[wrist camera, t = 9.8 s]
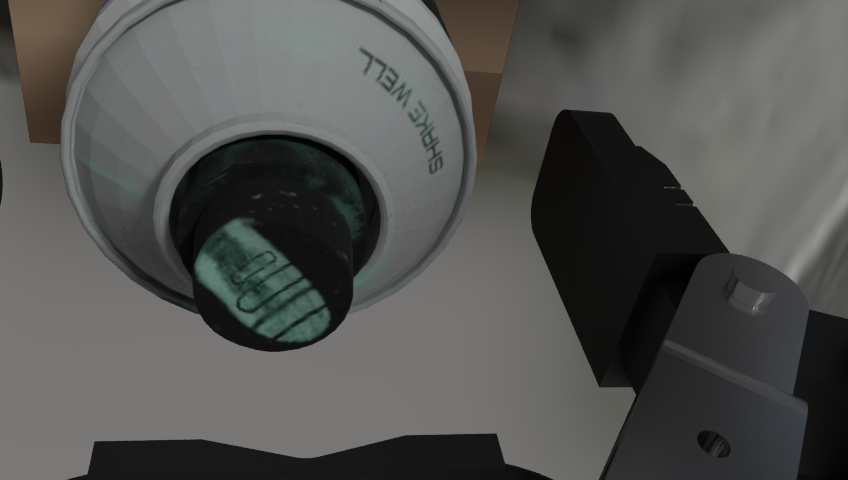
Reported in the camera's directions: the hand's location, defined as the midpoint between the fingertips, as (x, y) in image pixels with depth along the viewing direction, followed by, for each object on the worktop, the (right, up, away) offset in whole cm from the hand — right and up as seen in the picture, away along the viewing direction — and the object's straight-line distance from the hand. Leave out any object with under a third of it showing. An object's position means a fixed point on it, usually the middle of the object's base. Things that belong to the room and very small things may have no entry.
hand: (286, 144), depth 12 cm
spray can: (-2, +10, +13) cm, 16 cm away
